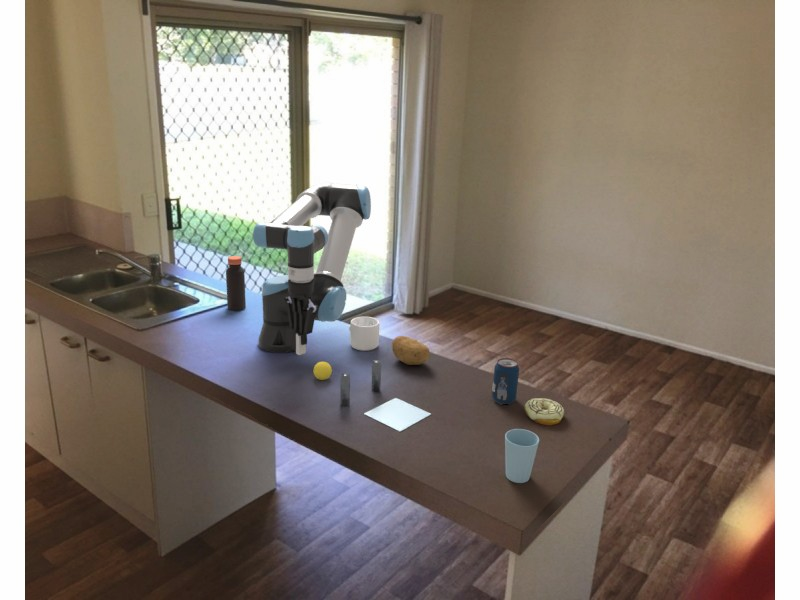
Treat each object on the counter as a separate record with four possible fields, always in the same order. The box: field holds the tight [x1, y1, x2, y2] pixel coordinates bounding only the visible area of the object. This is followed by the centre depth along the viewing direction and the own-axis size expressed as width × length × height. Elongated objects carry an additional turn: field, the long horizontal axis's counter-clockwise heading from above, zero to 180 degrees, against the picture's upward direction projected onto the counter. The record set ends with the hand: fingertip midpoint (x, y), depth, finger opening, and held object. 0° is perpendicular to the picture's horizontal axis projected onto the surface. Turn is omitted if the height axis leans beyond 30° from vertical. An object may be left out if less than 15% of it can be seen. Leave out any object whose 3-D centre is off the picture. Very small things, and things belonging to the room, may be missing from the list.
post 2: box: [370, 359, 382, 393], centre depth 189 cm, size 3×3×9 cm
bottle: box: [225, 255, 247, 312], centre depth 247 cm, size 7×7×20 cm
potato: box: [391, 335, 431, 366], centre depth 208 cm, size 10×14×8 cm
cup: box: [504, 428, 540, 484], centre depth 151 cm, size 8×8×10 cm
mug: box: [348, 316, 381, 352], centre depth 220 cm, size 12×10×9 cm
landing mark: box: [363, 397, 432, 433], centre depth 178 cm, size 13×13×1 cm
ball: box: [312, 361, 333, 381], centre depth 195 cm, size 6×6×6 cm
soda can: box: [491, 357, 520, 405], centre depth 186 cm, size 7×7×12 cm
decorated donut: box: [524, 397, 565, 426], centre depth 180 cm, size 10×11×4 cm
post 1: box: [339, 372, 351, 408], centre depth 180 cm, size 3×3×9 cm
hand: (301, 353), depth 200 cm, fingers closed
